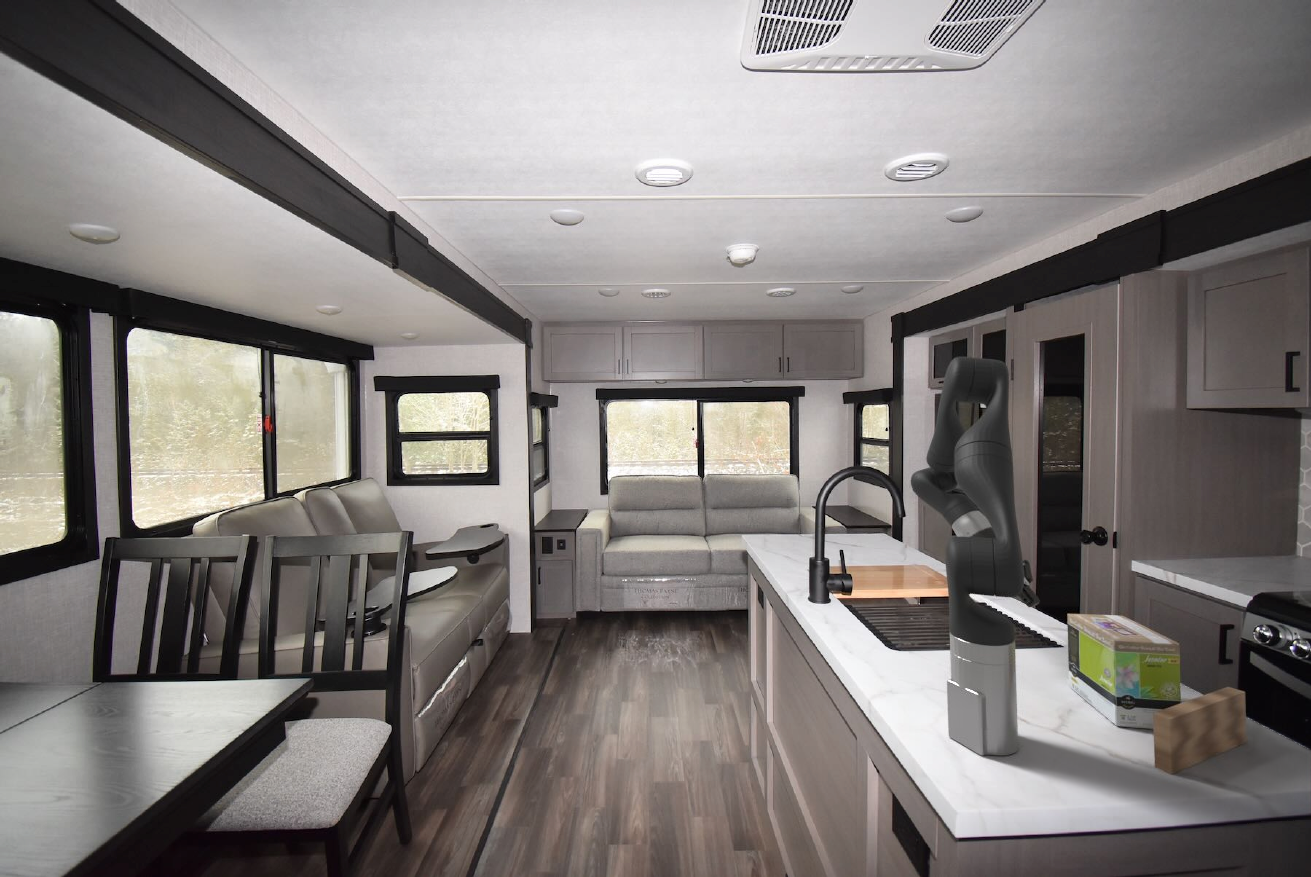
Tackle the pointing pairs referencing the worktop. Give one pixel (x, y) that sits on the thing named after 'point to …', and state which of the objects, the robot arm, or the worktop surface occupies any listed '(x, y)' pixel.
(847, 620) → the worktop surface
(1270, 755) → the worktop surface
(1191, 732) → the wooden block
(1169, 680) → the tea box
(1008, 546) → the robot arm
